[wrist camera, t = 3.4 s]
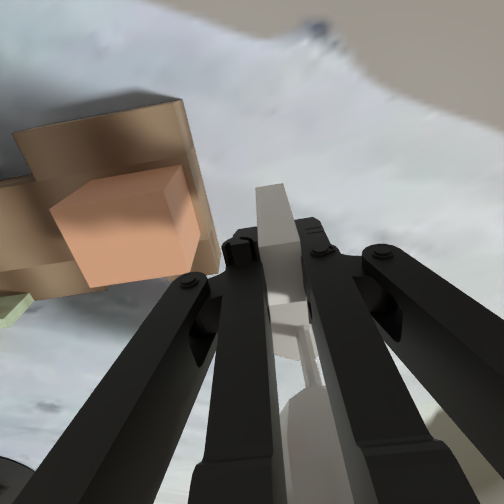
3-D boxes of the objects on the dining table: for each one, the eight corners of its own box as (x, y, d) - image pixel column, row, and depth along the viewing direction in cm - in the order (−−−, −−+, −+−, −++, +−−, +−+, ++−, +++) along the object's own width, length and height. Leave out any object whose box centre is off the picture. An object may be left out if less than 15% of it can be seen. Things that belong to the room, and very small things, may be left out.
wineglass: (337, 354, 33) (452, 705, 15) (254, 354, 33) (265, 709, 14) (352, 287, 29) (541, 664, 10) (257, 286, 28) (276, 671, 10)
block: (119, 246, 23) (90, 287, 18) (91, 180, 20) (49, 209, 16) (200, 234, 22) (189, 273, 18) (181, 164, 20) (163, 189, 15)
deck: (-30, 292, 28) (-93, 341, 23) (-132, 158, 22) (-248, 184, 17) (220, 253, 27) (214, 297, 21) (182, 99, 21) (160, 107, 15)
